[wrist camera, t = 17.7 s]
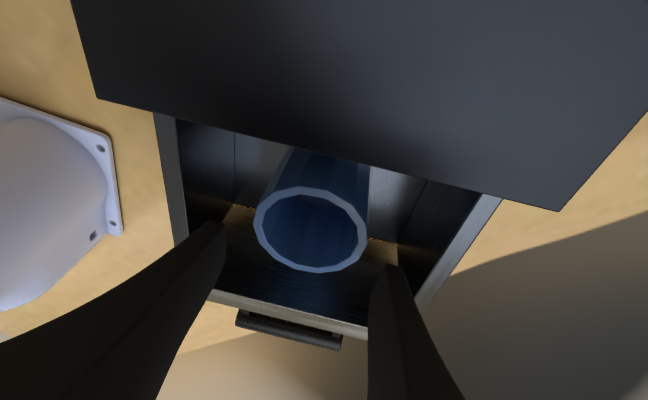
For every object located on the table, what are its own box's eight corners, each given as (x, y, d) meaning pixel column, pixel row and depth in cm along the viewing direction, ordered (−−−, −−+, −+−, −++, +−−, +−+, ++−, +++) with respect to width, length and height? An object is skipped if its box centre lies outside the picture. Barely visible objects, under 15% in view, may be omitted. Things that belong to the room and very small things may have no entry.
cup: (386, 149, 16) (387, 212, 12) (351, 217, 19) (342, 285, 15) (296, 116, 15) (265, 168, 11) (275, 190, 18) (245, 252, 14)
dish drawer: (382, 300, 25) (381, 388, 20) (222, 261, 25) (180, 337, 20) (523, 35, 13) (614, 81, 8) (215, -40, 13) (105, -43, 8)
